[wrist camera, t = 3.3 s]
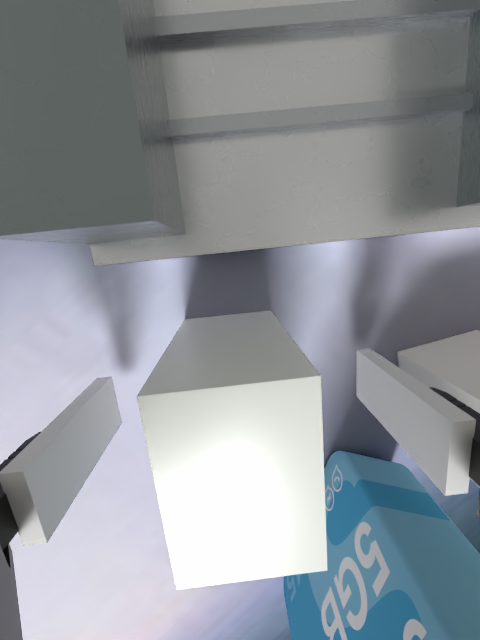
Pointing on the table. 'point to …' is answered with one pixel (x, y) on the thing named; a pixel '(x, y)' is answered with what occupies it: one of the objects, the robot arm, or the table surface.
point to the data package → (385, 562)
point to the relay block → (448, 366)
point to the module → (237, 451)
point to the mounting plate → (236, 122)
